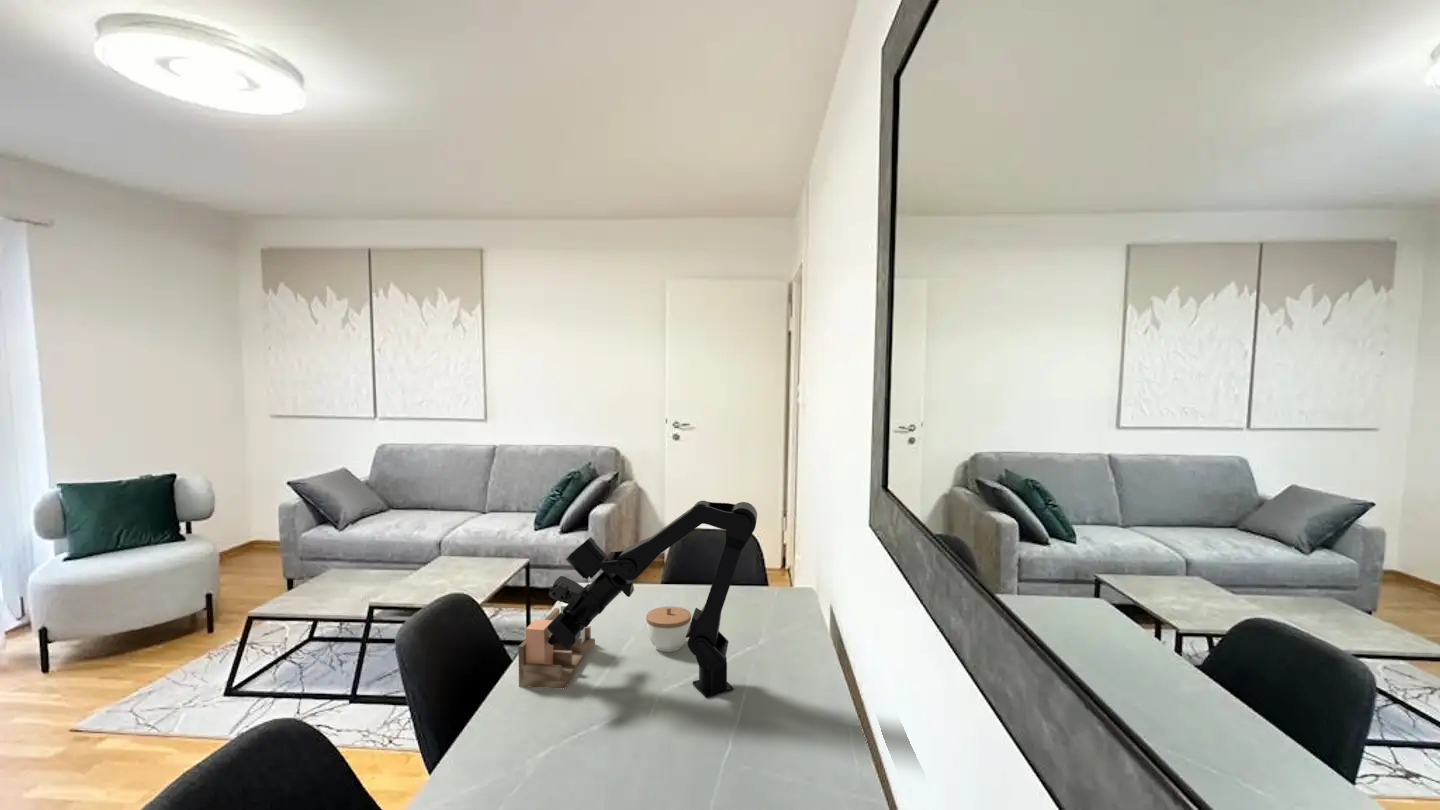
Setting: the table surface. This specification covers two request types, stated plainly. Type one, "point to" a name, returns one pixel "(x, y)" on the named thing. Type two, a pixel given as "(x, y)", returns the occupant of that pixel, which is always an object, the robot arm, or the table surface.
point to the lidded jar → (668, 627)
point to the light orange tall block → (539, 643)
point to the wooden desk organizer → (555, 662)
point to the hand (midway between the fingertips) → (549, 642)
